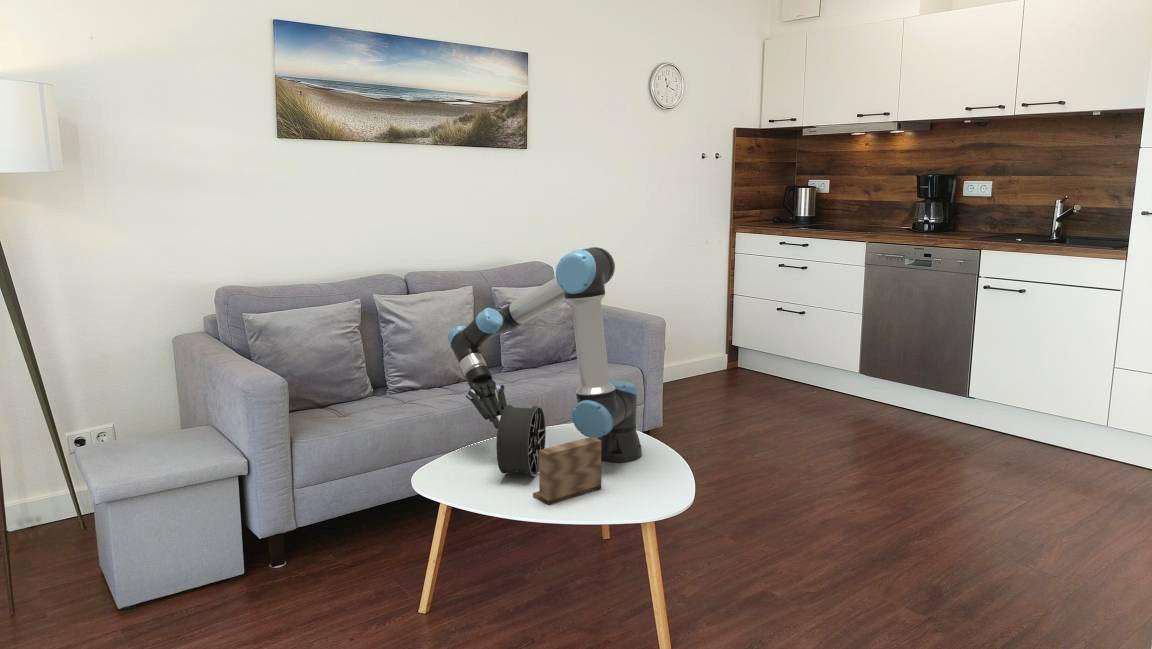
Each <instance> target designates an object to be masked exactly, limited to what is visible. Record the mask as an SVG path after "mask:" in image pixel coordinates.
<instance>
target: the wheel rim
mask: <svg viewBox="0 0 1152 649" xmlns="http://www.w3.org/2000/svg"><path fill="white" fill-rule="evenodd" d="M544 412H545V411H544V410H543V407H541V406H540V405H534V406H532V407H517V406H516V407H514V406H513V405H511V404H507V406H506V407H505V408H504V410H503V412H502V414H501V417H500V421H499V426H498V429H497V433H496V445H495V447H496V448H495V449H496V460H497V465H498V469H499V471H500V473H502V474H508V473H523V474H527V475H528V476H529V477H536V476H537V475H539V473H538V472H539V450H542V449H546V438H547V437H546V432H547V431H546V430H547V429H546V419H545V418H546V417H545V413H544Z"/></svg>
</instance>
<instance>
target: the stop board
mask: <svg viewBox="0 0 1152 649" xmlns="http://www.w3.org/2000/svg"><path fill="white" fill-rule="evenodd" d="M538 477H539V478H538V480H539V482H538V489H539V490H538V491H535V492H532V497H533V498H534V499H536V500H537V501H539V502H541V503H543V504H545V505H547V506H550V505H554V504H557V503H560V502H563V501H567V500H571V499H574V498H576V497H579V496H583V495H587V494H590V493H593V492H596V491H595V490H597V491H600V490H602V460H601V440H599V439H596V438H593V437H586V438H582V439H579V440H574V441H571V442H566V443H563V444H558V445H555V446H550V447H547V448H546V447H545V449H542V450H539V473H538ZM599 489H600V490H599ZM592 491H593V492H592ZM589 492H590V493H589ZM586 493H587V494H586ZM573 497H574V498H573Z"/></svg>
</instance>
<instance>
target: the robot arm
mask: <svg viewBox="0 0 1152 649" xmlns="http://www.w3.org/2000/svg"><path fill="white" fill-rule="evenodd" d="M615 264H616V262H615V260H614V258H613V255H612V254H611V253H610V252H609V251H608V250H607V249H604V248H601V247H599V246H598V247H596V246H594V247H588V248H582V249H576V250H572V251H570V252H567V253H566V254H565V255H563V256H562V257H561V258H560V260H559V261H558V262H557V264H556V268H555V277H554V278H553V279H551V280H549V281H547V282H545V283H544V284H542V285H541V286H539V287H537V288H535V289H534V290H532V291H530V292H528V293H526V294H525V295H523V296H521V297H520V298H517V300H516V299H515V301H513V302H511V303H510V304H507V305H506V306H504V307H502V308H499V309H498V310H496V309H495V308H491V307H486V308H484V309H483V310H482V311H480V312H479V313H478V314H477V315H476V317H475V318H474V319H473V320H472V321H471V322H469V323H468V325H459V326H455V328H452V329H451V330H450V331H449V332H448V334H447V340H448V342H449V345H450V348H451V350H452V351H453V355H454V356H455V358H456V360H457V361H458V364H459V366H460V369H461V371H462V372H463V375H464V376H465V380H466V381H467V382H466V383H467V384H468V386H469V387H470V388H469V391H467V393H466V394H465V398H466V399H468V400H469V401H470V402H471V403H472V404H473V406H474V407H475V408H476V410H477V411H478V412H479V414H480V415H481V417H482V418H483V419H484V420H489V422H490V423H492V424H493V426H494V428H495V429H496V430H498V426H499V421H500V417H501V414H502V412H503V410H504V408H505V407H506V406H507V405H508V404H507V400H506V395H505V384H501V385H499V384H496V382H495V380H493V376H492V374H491V372H490V369H489V367H488V366H487V363H486V361H485V359H484V357H483V354H482V352H481V349H480V348H481V347H483V345H484V344H485V343H486V342H487V341H488V340H489V339H490V338H493V337H496V336H499V335H502V334H504V333H507V332H513V331H515V330H516V329H518V328H520V327H521V326H522V325H523V324H525V323H527V322H528V321H530V320H532V319H534V318H535V317H536V318H537V316H539V315H541V314H543V313H544V312H547V311H548V310H550V309H552V308H554V307H555V306H558V305H559V304H561V303H562V302H565V301H566V302H568V303H569V304H570V306H571V315H572V321H573V323H572V325H573V331H574V333H573V334H574V340H575V350H576V359H577V365H578V366H577V369H578V377H579V386H578V388H577V389H576V391H575V394H576V395H575V396H576V404H575V406H574V407H573V410H572V413H571V419H572V423H573V426H575V428H576V431H578V432H579V433H581V434H582V435H583V436H584V437H586V438H590V437H593V438H596V439H599V440H601V461H603V462H611V463H625V462H626V463H627V462H632V461H635V460H638V459H639V458H641V457H642V445H641V442H640V438H639V435H638V432H637V398H638V397H637V396H638V394H637V386H636V385H635V384H634V383H633V382H629V381H624V380H623V381H621V380H610V374H609V366H608V365H609V364H608V357H607V355H608V354H607V348H606V347H607V346H606V337H605V327H604V326H605V325H604V317H603V309H602V300H603V298H604V297H605V296H606V289H605V285H606V284H607V283H608V282H609V281H611V279H612V278H613V277H614V273H615V270H616V265H615Z"/></svg>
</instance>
